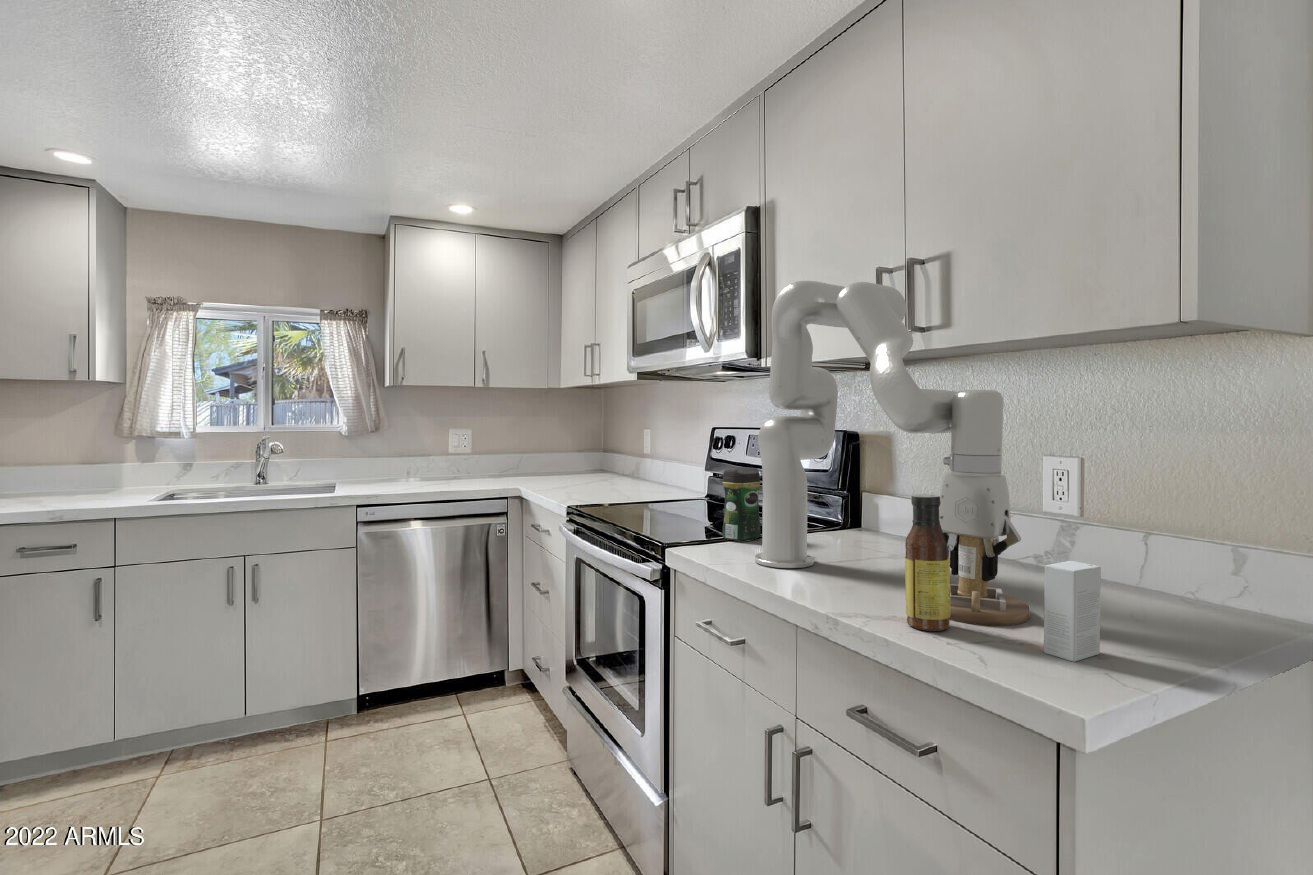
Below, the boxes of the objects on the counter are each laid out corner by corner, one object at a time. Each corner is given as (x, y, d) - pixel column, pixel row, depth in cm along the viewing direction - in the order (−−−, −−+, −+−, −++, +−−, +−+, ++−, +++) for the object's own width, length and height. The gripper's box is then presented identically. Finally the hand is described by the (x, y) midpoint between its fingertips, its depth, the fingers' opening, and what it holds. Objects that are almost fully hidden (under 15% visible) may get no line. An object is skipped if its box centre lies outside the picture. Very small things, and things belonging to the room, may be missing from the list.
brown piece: (921, 593, 120) (922, 568, 120) (1023, 603, 114) (1023, 577, 114) (919, 617, 105) (920, 589, 105) (1035, 631, 99) (1036, 600, 99)
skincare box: (1067, 645, 93) (1070, 559, 92) (1100, 655, 89) (1102, 566, 89) (1041, 652, 90) (1043, 564, 90) (1073, 663, 86) (1076, 571, 86)
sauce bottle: (959, 629, 100) (961, 496, 99) (931, 635, 97) (933, 499, 96) (922, 617, 105) (924, 492, 105) (895, 623, 102) (897, 494, 102)
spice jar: (993, 599, 107) (995, 516, 107) (966, 600, 107) (968, 516, 107) (977, 592, 112) (979, 512, 112) (951, 592, 112) (953, 512, 111)
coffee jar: (743, 535, 178) (744, 465, 177) (765, 539, 172) (766, 467, 171) (716, 539, 172) (717, 467, 172) (738, 543, 166) (738, 469, 165)
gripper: (915, 463, 113) (912, 570, 114) (1020, 470, 100) (1016, 591, 101) (937, 461, 118) (935, 564, 118) (1040, 468, 105) (1037, 583, 105)
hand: (973, 575), depth 109 cm, fingers closed on spice jar, 4 cm apart
